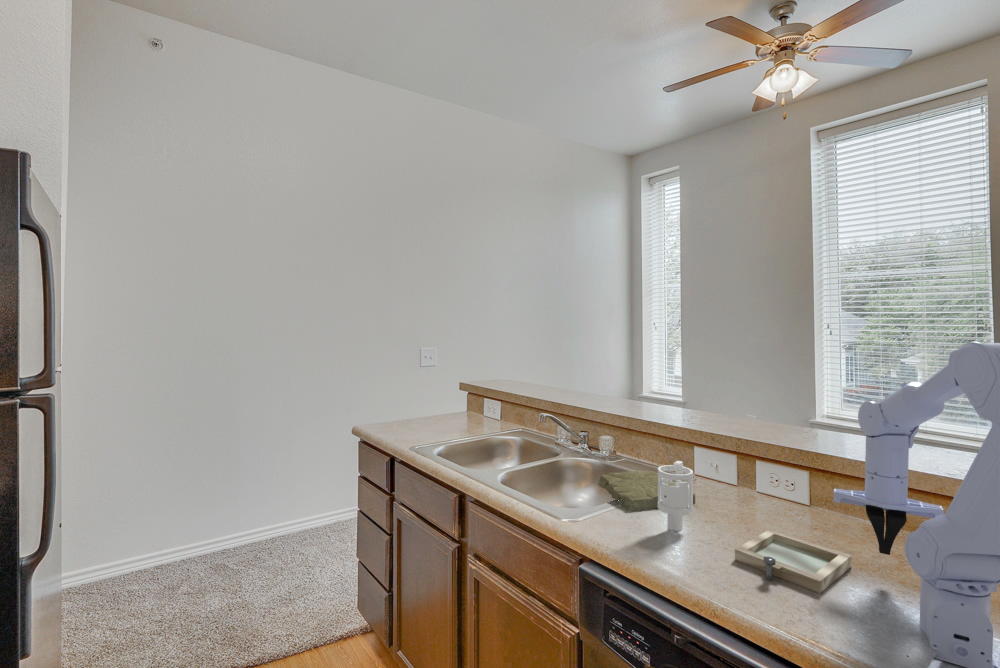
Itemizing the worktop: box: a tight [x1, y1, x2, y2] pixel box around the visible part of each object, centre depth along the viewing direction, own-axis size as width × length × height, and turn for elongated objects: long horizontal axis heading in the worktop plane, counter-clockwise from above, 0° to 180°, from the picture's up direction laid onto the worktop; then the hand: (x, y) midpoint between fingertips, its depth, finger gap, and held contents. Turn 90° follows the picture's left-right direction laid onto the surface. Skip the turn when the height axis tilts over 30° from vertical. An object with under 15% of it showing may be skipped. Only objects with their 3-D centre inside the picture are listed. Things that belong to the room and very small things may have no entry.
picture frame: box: [734, 528, 853, 594], centre depth 88 cm, size 15×14×2 cm
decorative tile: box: [597, 470, 696, 512], centre depth 129 cm, size 19×20×4 cm
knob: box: [763, 557, 776, 582], centre depth 83 cm, size 2×2×5 cm
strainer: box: [657, 460, 694, 532], centre depth 104 cm, size 7×7×15 cm
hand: (884, 551), depth 83 cm, fingers closed
